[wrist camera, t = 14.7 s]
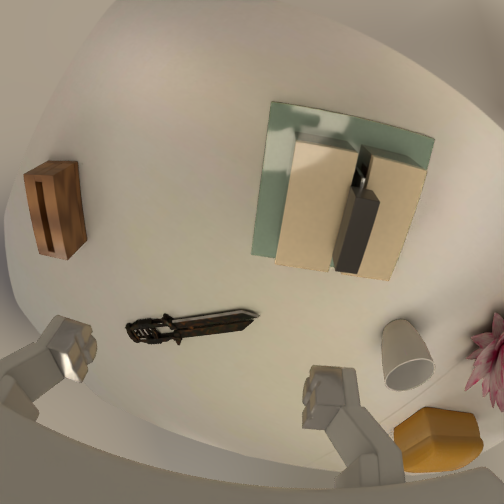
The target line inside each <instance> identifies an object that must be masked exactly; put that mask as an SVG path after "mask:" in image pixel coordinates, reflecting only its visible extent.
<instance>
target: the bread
mask: <svg viewBox="0 0 504 504" xmlns="http://www.w3.org/2000/svg"><path fill="white" fill-rule="evenodd" d="M394 442H395V444H396V445H397V446H398V447H399V449H400V450H401V452H402V459H403V466H404V471H406V472H412V473H424V472H443V471H453V470H457V469H459V468H462V467H464V466H466V465H468V464H469V463H470V462H472V461H473V460H474V459H475V458H477V457H478V456H479V454H480V453H481V451H482V450H483V446H484V445H483V441H482V439H481V438H480V432H479V427H478V424H477V421H476V419H475V417H474V415H473V414H471V413H464V412H457V411H450V410H443V409H437V408H430V407H424V408H422V409H420V410H419V411H418V412H416V413H415V414H414V415H412V416H411V417H410V418H408V419H407V420H405V421H404V422H402V423H401V424H400V425H398V426H397V427H395V428H394Z"/></svg>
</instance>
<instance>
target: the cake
mask: <svg viewBox="0 0 504 504" xmlns="http://www.w3.org/2000/svg"><path fill="white" fill-rule="evenodd" d="M434 140H435V139H433V138H431V137H428V136H425V135H421V134H418V133H415V132H412V131H408V130H405V129H402V128H398V127H395V126H391V125H387V124H384V123H380V122H376V121H372V120H368V119H364V118H360V117H355V116H351V115H346V114H342V113H337V112H332V111H327V110H322V109H317V108H311V107H306V106H300V105H294V104H287V103H281V102H274V101H272V102H271V107H270V115H269V122H268V130H267V137H266V145H265V152H264V160H263V168H262V175H261V183H260V190H259V198H258V205H257V213H256V221H255V228H254V236H253V243H252V251H251V255H258V256H264V257H271V258H275V264H276V265H283V266H289V267H296V268H303V269H310V270H316V271H323V272H328V270H329V267H334V263H333V258H332V253H333V250H334V246H335V243H336V239H337V235H338V232H339V228H340V224H341V220H342V217H343V213H344V209H345V205H346V201H347V197H348V193H349V189H350V186H351V184H352V180H353V176H354V172H355V167H356V166H357V167H358V168H359V170H360V171H361V173H362V174H363V176H364V177H365V178H366V180H365V184H364V189H369V190H373V192H374V193H375V195H376V196H377V198H378V199H379V201H380V205H379V208H378V212H377V215H376V218H375V222H374V225H373V228H372V231H371V235H370V238H369V241H368V244H367V247H366V250H365V253H364V256H363V259H362V262H361V265H360V268H359V271H358V273H357V274H352V273H345V272H341V274H343V275H350V276H357V277H364V278H371V279H378V280H385V281H389V280H390V277H391V275H392V272H393V270H394V267H395V265H396V262H397V260H398V257H399V255H400V252H401V249H402V247H403V244H404V241H405V239H406V236H407V233H408V230H409V228H410V225H411V222H412V219H413V216H414V213H415V210H416V207H417V204H418V201H419V198H420V194H421V191H422V188H423V185H424V181H425V178H426V174H427V167H428V164H429V160H430V156H431V152H432V148H433V144H434Z"/></svg>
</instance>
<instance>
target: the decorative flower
mask: <svg viewBox="0 0 504 504" xmlns="http://www.w3.org/2000/svg"><path fill="white" fill-rule="evenodd" d="M492 330H493V333H491V332H484V333H481V334H478V335H475V336H472V337H471V339H472V340H473V341H474V342H475V343H476V344H477V345H478V346H479V347H481V348H479V349H477V350H475V351H474V352H472V353H471V354H470V355H469V356H468V357H467V358H466V359H476V360H475V362H474V365H473V366H476V367H475V368H474V370H473V372H472V374H471V376H470V378H469V380H468V382H467V384H466V387H465V390H464V391H466V390H468V389H469V388H470V387H472V386H473V385H474V384H475V383H476V382H478V381H479V380H480V379H482V378H483V382H482V391H483V397H485V396H486V395H487V393H488V392H489V391H490V400H491V404H492V407H493V408H494V404H495V400H496V402H497V405H498V407H499V409H500V410H501V412H504V319H503V318H502V317H501V316H500V315H499V314H498V313H496V312H495V313H494V318H493V323H492Z"/></svg>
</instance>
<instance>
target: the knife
mask: <svg viewBox="0 0 504 504" xmlns="http://www.w3.org/2000/svg"><path fill="white" fill-rule="evenodd" d="M259 316H260V315H257V314H253V313H250V312H246V311H243V310H239V311H233V312H226V313H220V314H213V315H207V316H200V317H193V318H186V319H178V320H173V318H172V317H170V316H168V315H167V314H164V315H163V317H162V320H161V319H154V320H153V319H151V318H149V319H142V320H137V321H136V322H134V323H133V324H130V323H129V324H127V325H126V327H125V328H126V330H127V333H128V335H129V337H130V338H131V339H132V340H133V341H134V342H136V343H139V342H144V343H148V344H157V343H158V344H159V343H160V344H162V342H167V341H169V340H170V339H173V340H174V341H175V340H176V343H177V344H178V345H180V343H181V340H182V338H185V337H194V336H203V335H211V334H219V333H227V332H235V331H242V330H243V329H245V328H246V327H247V326H248V325H249V324H251V323H252V322H253V321H254V320H246V321H240V322H233V323H227V322H231V321H238V320H245V319H251V318H257V317H259ZM158 323H162V324H158ZM217 323H223V324H219V325H212V326H204V327H196V328H193V327H195V326H203V325H210V324H217ZM165 326H168V327H169V328H170V329H171V330H174V332H173V333H164V334H161V333H159V332H158V331H157V330H156V327H165ZM187 327H188V329H179V328H187ZM149 328H150V329H151V330H152V331H151V330H149ZM153 328H154V329H153ZM138 329H141V331H142V332H143V334H144V335H145V336H142V334H141V333H140V331H139V330H138ZM143 329H145V330H146V331H147V333H148V334H149V335H147V334H146V333H145V332H144V330H143ZM175 329H178V330H175ZM134 330H137V331H136V333H135V331H134ZM138 333H139V335H140V336H138V335H137V334H138ZM151 333H152V335H151ZM140 338H146V339H143V340H140Z"/></svg>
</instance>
